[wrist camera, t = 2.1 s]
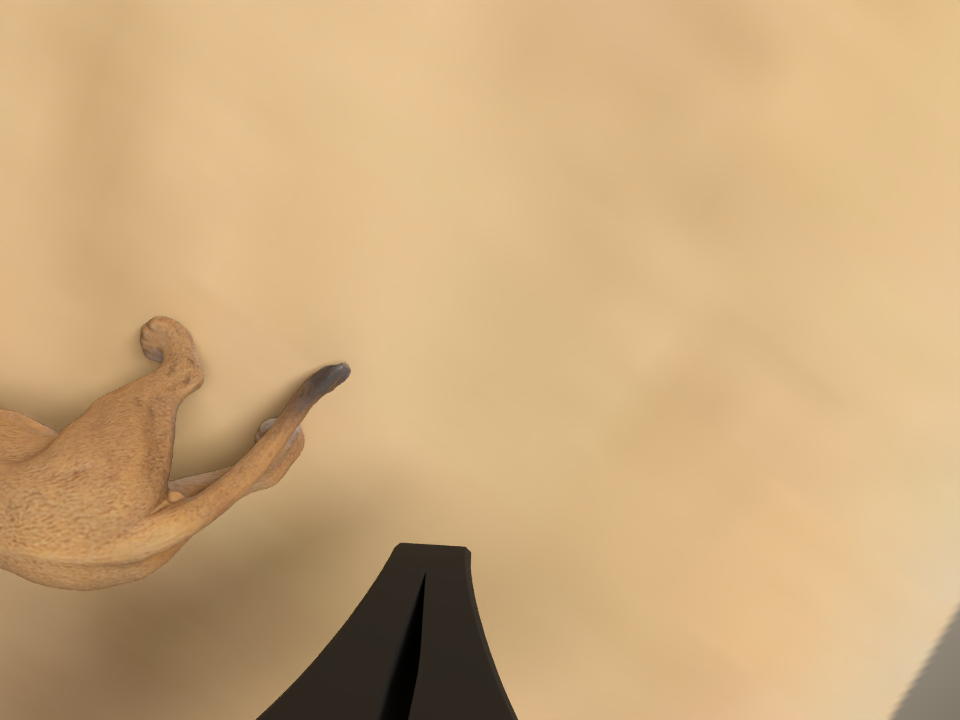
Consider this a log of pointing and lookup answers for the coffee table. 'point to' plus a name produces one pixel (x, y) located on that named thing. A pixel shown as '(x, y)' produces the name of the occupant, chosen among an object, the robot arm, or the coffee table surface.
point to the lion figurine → (129, 474)
